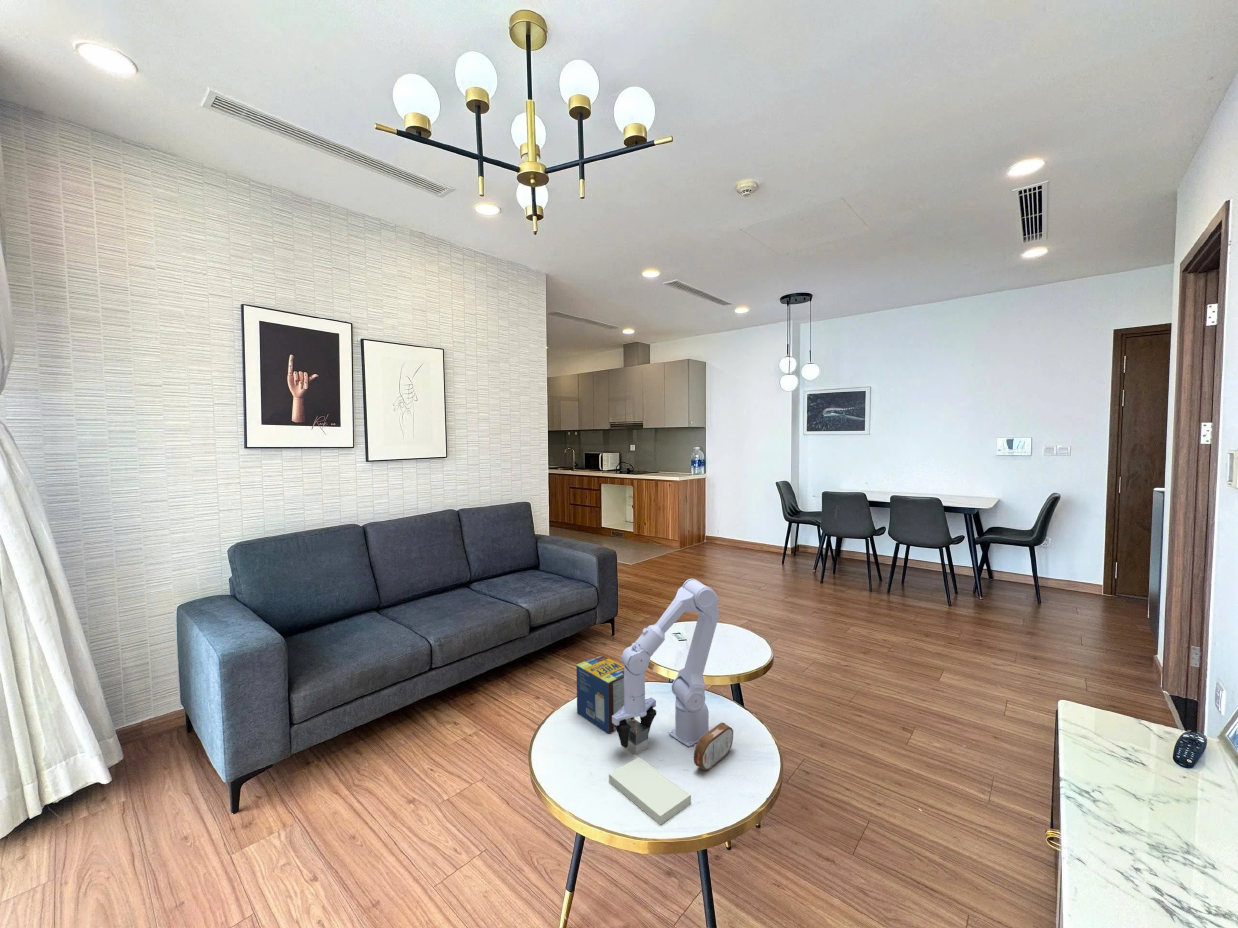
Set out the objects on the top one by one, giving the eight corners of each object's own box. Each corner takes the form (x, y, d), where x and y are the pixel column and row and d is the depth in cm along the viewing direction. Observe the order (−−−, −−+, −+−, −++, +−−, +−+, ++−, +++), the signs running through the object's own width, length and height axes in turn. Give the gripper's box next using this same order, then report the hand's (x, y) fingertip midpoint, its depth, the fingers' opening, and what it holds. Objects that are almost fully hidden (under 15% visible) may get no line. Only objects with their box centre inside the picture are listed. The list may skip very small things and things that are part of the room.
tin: (725, 745, 137) (725, 716, 136) (735, 750, 135) (735, 720, 134) (692, 772, 126) (692, 740, 126) (702, 778, 124) (702, 745, 124)
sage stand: (638, 764, 129) (638, 756, 129) (690, 802, 116) (690, 794, 116) (609, 781, 123) (608, 773, 123) (660, 824, 109) (660, 816, 109)
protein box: (601, 700, 161) (601, 653, 160) (634, 720, 149) (634, 670, 148) (576, 713, 154) (575, 664, 153) (608, 734, 142) (608, 682, 141)
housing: (633, 738, 140) (633, 717, 140) (648, 749, 136) (648, 726, 135) (621, 745, 137) (621, 723, 137) (636, 756, 133) (635, 733, 132)
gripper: (623, 707, 128) (624, 758, 129) (663, 688, 137) (663, 736, 138) (606, 696, 133) (607, 745, 134) (646, 679, 143) (646, 725, 143)
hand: (634, 739), depth 136 cm, fingers open, 7 cm apart
